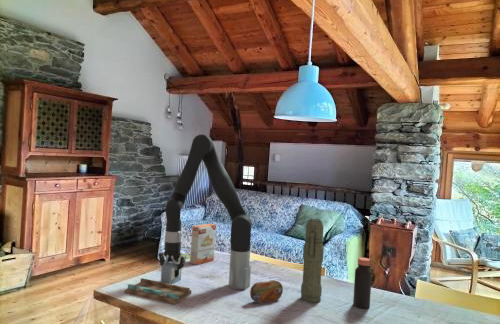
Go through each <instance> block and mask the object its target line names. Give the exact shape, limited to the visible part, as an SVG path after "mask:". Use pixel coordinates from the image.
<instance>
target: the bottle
mask: <svg viewBox="0 0 500 324" xmlns="http://www.w3.org/2000/svg"><path fill="white" fill-rule="evenodd" d="M370 265H371V259H370V258H368V257H358V258H357V267H355V270H354V281H353V282H354V285H353V299H352V302H353V306H354V307H356V308H359V309H368V308H370V307H371V306H370V305H371V291H372V275H373V274H372V273H373V271H372V270H371V269H370Z"/></svg>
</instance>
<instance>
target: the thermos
mask: <svg viewBox="0 0 500 324" xmlns="http://www.w3.org/2000/svg"><path fill="white" fill-rule="evenodd" d="M323 239H324V224H323V221H322V220H321V219H320V218H319V219H318V218H309V219H307V222H306V225H305V241H304V245H303V247H302V250H303V251H302V260H303V270H302V272H303V273H302V283H301V285H300V299H301V301H302V302H305V303H309V304H318V303H321V300H322V298H321V297H322V293H323V292H322V291H323V288H322V284H321V283H322V267H323V266H322V264H323V261H324V253H325V249H324V241H323Z"/></svg>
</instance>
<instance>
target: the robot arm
mask: <svg viewBox="0 0 500 324" xmlns="http://www.w3.org/2000/svg"><path fill="white" fill-rule="evenodd" d="M202 162H203V164H204V165H205V167H206V171H207V176H208V179H209V182H210V184H211V186H212V188H213V191H214V194H216V196H217V198H218V199H219V201H220V202H221V204H222V205H223V206H224V207H225V209H226V210H227V211H226V212H228V215H229V217H230V219H231V224H230V225H231V226H230V243H229V244H230V252H229V253H230V256H229V270H228V271H229V275H228V287H229V288H230V289H233V290H247V289H248V288H249V287H250V285H251V271H252V270H251V269H252V266H251V265H250V264H251V261H250V258H251V235H252V226H253V225H252V224H253V223H252V220H251V218H250V217H249V215H248V213H247V212H246V210H245V208H244V207H243V204H242V203H241V201H240V198H239V195H238V193H237V191H236V188H235V185H234V183H233V181H232V179H231V177H230V175H229V174H228V172H227V170H226V168H225V166H224V165H223V164H222V162H221V160H220V158H219V155H218V153H217V151H216V148H215V145H214V142H213V140H212V139H211V137H210V136H208V135H207V134H198V135H196V136H195V137H194V138H193V139H192V143H191V146H190V150H189V154H188V155H187V159H186V162H185V165H184V167H183V169H182V171H181V173H180V175H179V177H178V178H177V179H178V180H177V182H176V184H175V186H174V191H173V194H172V196H171V197H170V199H168V200H167V202H166V204H165V219H166V223H165V234H164V248H163V249H164V251H162V252H159V253H158V257H159V265H160V266H161V267H162V265H163V264H166V263H169V262H173V265H175V278H176V277H178V276H179V269H181V270H182V269H183V268H184V267H185V262H186V259H187V256H186V255H182V254H181V250H182V249H181V248H182V247H181V246H182V219H181V214H182V213H181V211H182V209H183V208H184V206H185V202H186V200H187V198H188V195H189V193H190V191H191V189H192V186H193V185H194V182H195V179H196V176H197V172H198V170H199V167H200V165H201V163H202ZM179 261H180V263H179Z"/></svg>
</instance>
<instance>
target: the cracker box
mask: <svg viewBox="0 0 500 324" xmlns="http://www.w3.org/2000/svg"><path fill="white" fill-rule="evenodd" d="M216 230H217V225H216V224H213V223H205V224H199V225H192V226H191V240H190V241H191V242H190V258H189V263H190V264H193V265H196V266H197V265H198V266H199V265H201V264H205V263H208V262H212V261H213V262H214V260H215V247H216V246H215V245H216V234H217V233H216V232H217V231H216Z"/></svg>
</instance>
